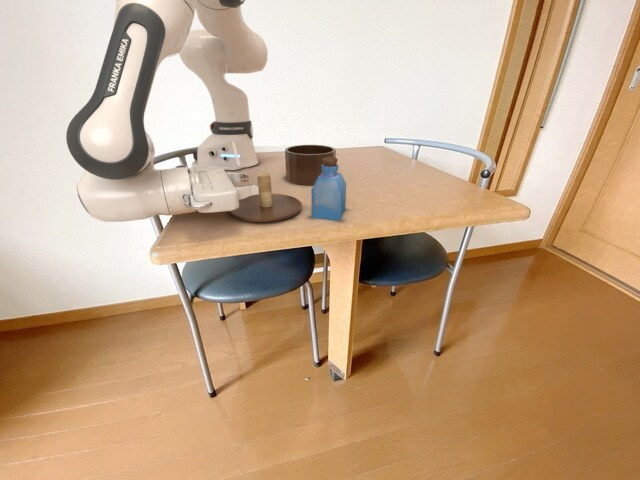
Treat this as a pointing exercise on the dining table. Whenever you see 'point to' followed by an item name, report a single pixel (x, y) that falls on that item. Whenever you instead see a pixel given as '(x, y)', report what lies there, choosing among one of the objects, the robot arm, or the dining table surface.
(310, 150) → the dark brown pot
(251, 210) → the lid
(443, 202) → the dining table surface
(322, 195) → the perfume bottle
